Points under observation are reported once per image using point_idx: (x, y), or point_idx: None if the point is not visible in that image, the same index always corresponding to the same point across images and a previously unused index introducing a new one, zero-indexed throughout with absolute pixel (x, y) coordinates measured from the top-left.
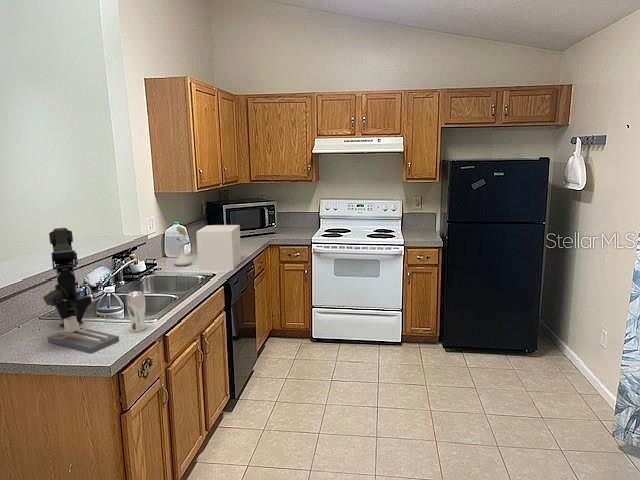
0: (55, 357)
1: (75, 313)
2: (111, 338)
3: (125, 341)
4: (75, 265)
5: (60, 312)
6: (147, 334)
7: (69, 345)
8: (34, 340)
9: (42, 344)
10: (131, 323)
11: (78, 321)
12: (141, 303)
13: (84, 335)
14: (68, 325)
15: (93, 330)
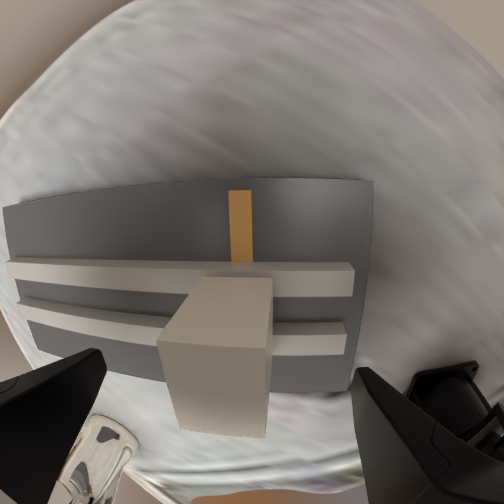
0: (98, 77)
1: (19, 392)
2: (32, 323)
3: None
4: None
5: (386, 424)
6: None
7: (127, 186)
8: (459, 169)
9: (361, 136)
10: (97, 441)
11: (83, 353)
12: None
13: (149, 315)
14: (192, 307)
15: None
